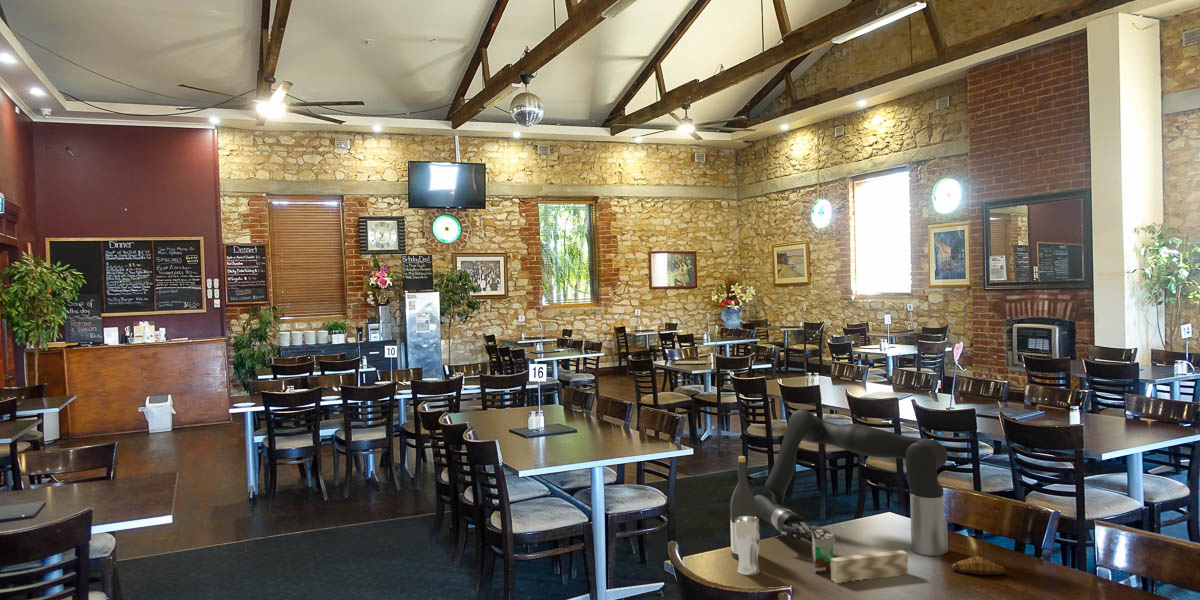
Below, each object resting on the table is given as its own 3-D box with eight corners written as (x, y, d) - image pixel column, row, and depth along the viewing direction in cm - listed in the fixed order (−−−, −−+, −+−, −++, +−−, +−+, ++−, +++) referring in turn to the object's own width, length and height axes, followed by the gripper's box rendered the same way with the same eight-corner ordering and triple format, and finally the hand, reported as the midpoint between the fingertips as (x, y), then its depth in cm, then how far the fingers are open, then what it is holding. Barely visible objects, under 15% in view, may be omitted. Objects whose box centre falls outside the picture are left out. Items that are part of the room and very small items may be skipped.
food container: (838, 576, 203) (838, 540, 203) (815, 575, 204) (815, 539, 204) (833, 560, 215) (832, 526, 215) (811, 559, 217) (811, 525, 216)
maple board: (902, 571, 206) (901, 550, 206) (907, 574, 203) (907, 553, 203) (831, 579, 201) (830, 558, 201) (835, 583, 199) (835, 561, 199)
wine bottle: (728, 559, 219) (725, 458, 219) (734, 550, 227) (731, 453, 226) (755, 561, 216) (752, 460, 216) (760, 552, 223) (757, 454, 223)
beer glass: (762, 568, 211) (761, 516, 211) (759, 577, 204) (758, 523, 204) (738, 566, 213) (736, 514, 213) (734, 574, 207) (732, 521, 206)
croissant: (954, 576, 202) (954, 558, 202) (949, 567, 208) (949, 550, 208) (1009, 580, 198) (1008, 561, 198) (1002, 570, 205) (1002, 553, 205)
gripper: (767, 512, 231) (793, 528, 214) (806, 508, 234) (834, 524, 217) (768, 536, 231) (793, 554, 214) (806, 532, 234) (835, 550, 217)
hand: (814, 539), depth 216 cm, fingers closed
